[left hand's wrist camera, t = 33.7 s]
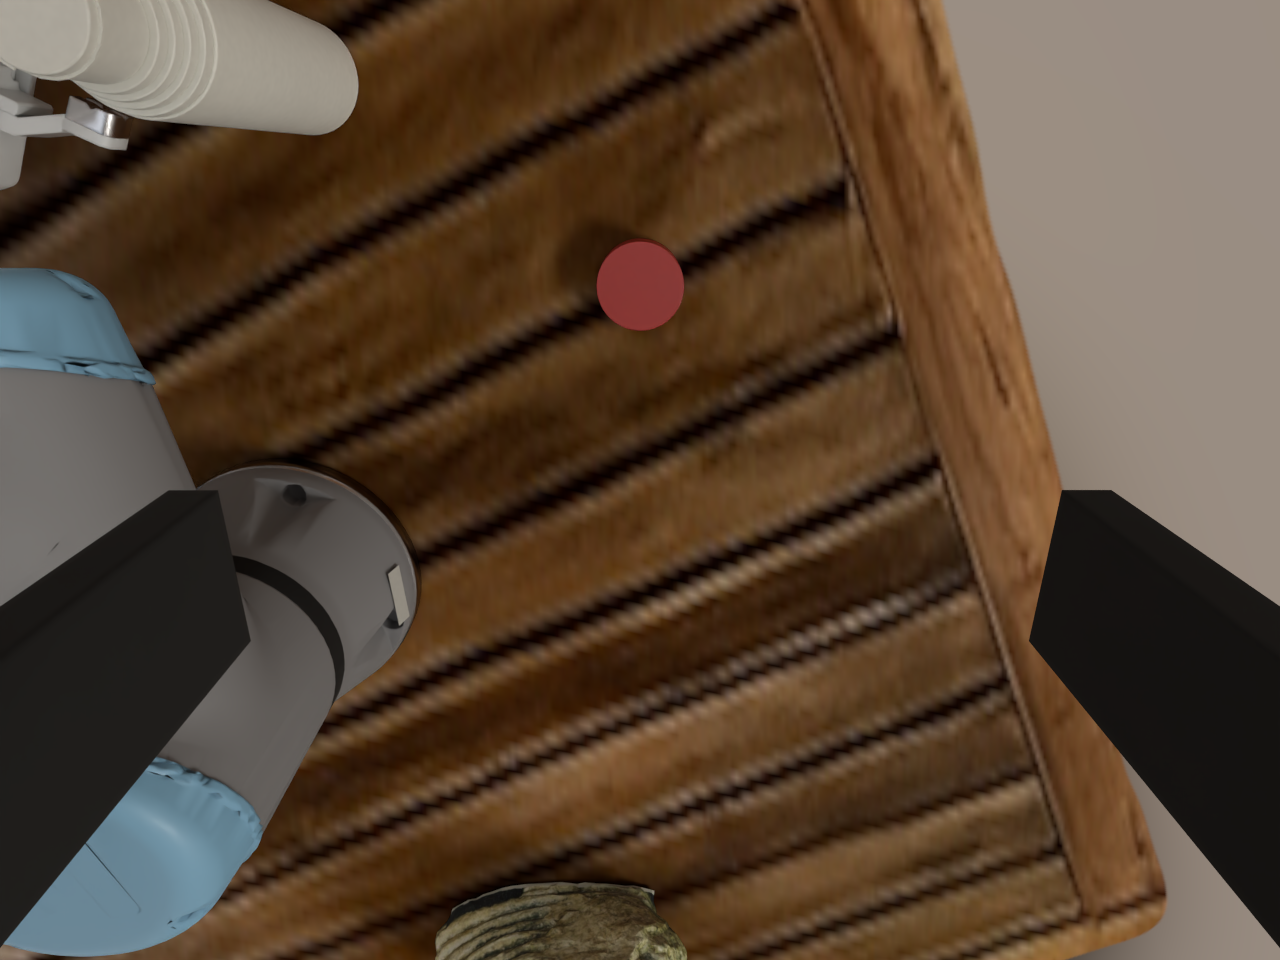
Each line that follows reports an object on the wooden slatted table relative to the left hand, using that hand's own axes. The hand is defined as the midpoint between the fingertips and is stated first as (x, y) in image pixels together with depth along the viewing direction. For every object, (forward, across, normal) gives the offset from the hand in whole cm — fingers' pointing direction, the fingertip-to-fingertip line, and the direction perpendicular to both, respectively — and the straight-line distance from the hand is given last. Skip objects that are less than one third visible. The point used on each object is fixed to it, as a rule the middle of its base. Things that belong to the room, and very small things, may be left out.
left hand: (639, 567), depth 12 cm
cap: (+31, 0, 0) cm, 31 cm away
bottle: (+32, +16, -10) cm, 38 cm away
